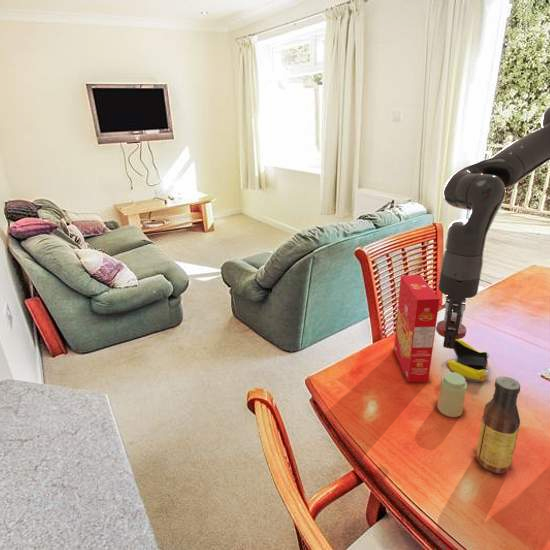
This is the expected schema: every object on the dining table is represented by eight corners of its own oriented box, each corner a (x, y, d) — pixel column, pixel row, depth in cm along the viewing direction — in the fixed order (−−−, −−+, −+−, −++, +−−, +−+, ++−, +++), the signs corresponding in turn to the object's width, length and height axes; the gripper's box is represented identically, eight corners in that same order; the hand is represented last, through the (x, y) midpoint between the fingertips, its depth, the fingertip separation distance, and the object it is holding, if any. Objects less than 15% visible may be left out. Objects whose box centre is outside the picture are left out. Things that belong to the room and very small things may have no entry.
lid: (430, 328, 85) (430, 323, 85) (451, 323, 87) (452, 317, 86) (449, 342, 80) (450, 336, 79) (471, 336, 82) (472, 330, 81)
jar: (458, 401, 93) (463, 371, 90) (465, 418, 88) (471, 386, 84) (434, 400, 94) (439, 370, 90) (440, 416, 89) (445, 385, 85)
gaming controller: (443, 379, 101) (485, 391, 96) (445, 363, 99) (489, 373, 94) (450, 350, 113) (487, 359, 108) (452, 335, 110) (491, 343, 106)
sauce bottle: (516, 473, 74) (539, 394, 66) (486, 477, 74) (505, 397, 66) (496, 447, 80) (514, 371, 72) (467, 449, 80) (483, 374, 72)
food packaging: (394, 350, 114) (400, 275, 104) (411, 350, 114) (420, 274, 104) (408, 382, 101) (417, 299, 91) (428, 381, 100) (439, 298, 91)
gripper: (443, 257, 85) (434, 321, 92) (438, 281, 73) (428, 353, 80) (480, 261, 82) (468, 327, 89) (481, 287, 70) (467, 361, 77)
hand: (449, 339), depth 84 cm, fingers closed on lid, 6 cm apart
